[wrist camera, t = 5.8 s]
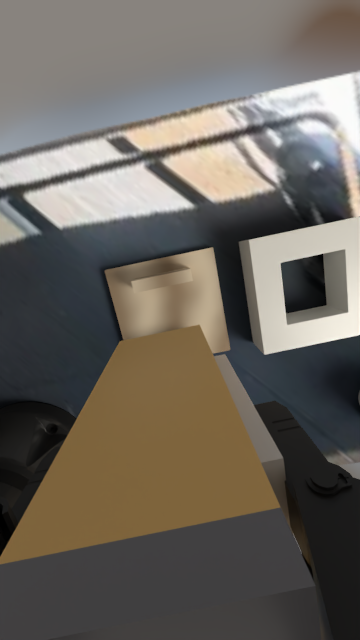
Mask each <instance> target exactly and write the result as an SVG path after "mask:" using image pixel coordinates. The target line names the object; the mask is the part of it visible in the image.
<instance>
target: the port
mask: <svg viewBox="0 0 360 640" xmlns="http://www.w3.org/2000/svg"><path fill="white" fill-rule="evenodd" d="M239 249H240V256H241V263H242V269H243V276H244V283H245V290H246V297H247V304H248V311H249V318H250V325H251V332H252V338H253V343H254V344H255V345H256V346H257V347H258V348H259V349H260V350H261V352H262V353H263V354H264V355H265V354H270V353H275V352H280V351H285V350H289V349H294V348H299V347H304V346H309V345H314V344H319V343H323V342H328V341H333V340H338V339H343V338H348V337H353V336H357V335H360V216H359V217H354V218H349V219H344V220H339V221H335V222H330V223H325V224H321V225H316V226H311V227H306V228H302V229H297V230H292V231H287V232H283V233H278V234H273V235H268V236H264V237H259V238H254V239H250V240H245V241H240V242H239ZM320 254H323V261H324V275H325V289H326V304H327V305H325V306H321V307H316V308H311V309H306V310H301V311H296V312H292V313H287V314H286V311H285V302H284V293H283V284H282V274H281V265H280V263H282V262H286V261H291V260H296V259H301V258H305V257H310V256H315V255H320Z"/></svg>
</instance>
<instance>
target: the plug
mask: <svg viewBox="0 0 360 640" xmlns="http://www.w3.org/2000/svg"><path fill="white" fill-rule="evenodd" d="M0 640H321V631H320V622H319V613H318V604H317V595H316V586H315V583H314V581H313V579H312V577H311V574H310V572H309V570H308V568H307V565H306V563H305V561H304V559H303V556H302V554H301V552H300V550H299V547H298V545H297V543H296V541H295V538H294V537H293V534H292V532H291V529H290V527H289V525H288V523H287V520H286V518H285V516H284V514H283V511H282V509H281V507H280V505H279V502H278V500H277V498H276V496H275V493H274V491H273V489H272V487H271V484H270V482H269V480H268V478H267V475H266V473H265V471H264V468H263V466H262V464H261V462H260V459H259V457H258V455H257V453H256V450H255V448H254V446H253V444H252V441H251V439H250V437H249V435H248V432H247V430H246V428H245V426H244V423H243V421H242V419H241V417H240V414H239V412H238V410H237V408H236V405H235V403H234V401H233V399H232V396H231V394H230V392H229V390H228V387H227V385H226V383H225V381H224V378H223V376H222V374H221V372H220V369H219V367H218V365H217V363H216V360H215V358H214V356H213V354H212V351H211V349H210V347H209V345H208V342H207V340H206V338H205V336H204V333H203V331H202V329H201V327H200V325H195V326H190V327H185V328H181V329H176V330H171V331H166V332H161V333H157V334H152V335H147V336H142V337H138V338H133V339H128V340H123V341H120V342H119V344H118V346H117V347H116V349H115V351H114V353H113V355H112V356H111V358H110V360H109V362H108V364H107V365H106V367H105V369H104V371H103V373H102V374H101V376H100V378H99V380H98V382H97V383H96V385H95V387H94V389H93V391H92V392H91V394H90V396H89V398H88V400H87V401H86V403H85V405H84V407H83V409H82V410H81V412H80V414H79V416H78V418H77V419H76V421H75V423H74V425H73V427H72V428H71V430H70V432H69V434H68V436H67V437H66V439H65V441H64V443H63V445H62V446H61V448H60V450H59V452H58V454H57V455H56V457H55V459H54V461H53V463H52V464H51V466H50V468H49V470H48V472H47V473H46V475H45V477H44V479H43V481H42V482H41V484H40V486H39V488H38V490H37V491H36V493H35V495H34V497H33V499H32V500H31V502H30V504H29V506H28V508H27V509H26V511H25V513H24V515H23V517H22V518H21V520H20V522H19V524H18V526H17V527H16V529H15V531H14V533H13V535H12V536H11V538H10V540H9V542H8V544H7V545H6V547H5V549H4V551H3V553H2V554H1V556H0Z"/></svg>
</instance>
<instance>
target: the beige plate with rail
mask: <svg viewBox="0 0 360 640" xmlns="http://www.w3.org/2000/svg"><path fill="white" fill-rule="evenodd" d="M105 274H106V278H107V281H108V285H109V289H110V293H111V296H112V300H113V304H114V307H115V311H116V315H117V318H118V322H119V326H120V330H121V333H122V337H123V340H128V339H133V338H138V337H142V336H147V335H152V334H157V333H161V332H166V331H171V330H176V329H181V328H185V327H190V326H195V325H200V327H201V329H202V331H203V333H204V336H205V338H206V340H207V342H208V345H209V347H210V349H211V351H212V354H213V353H218V352H223V351H227V350H230V345H229V339H228V333H227V327H226V321H225V315H224V309H223V303H222V298H221V292H220V286H219V280H218V274H217V268H216V262H215V256H214V250H213V247H212V248H207V249H202V250H197V251H193V252H188V253H183V254H179V255H174V256H169V257H164V258H160V259H155V260H150V261H145V262H141V263H136V264H131V265H127V266H122V267H117V268H112V269H108V270H105Z"/></svg>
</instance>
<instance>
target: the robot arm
mask: <svg viewBox="0 0 360 640" xmlns="http://www.w3.org/2000/svg"><path fill="white" fill-rule="evenodd" d="M214 358H215V360H216V363H217V365H218V367H219V369H220V372H221V374H222V376H223V378H224V381H225V383H226V385H227V387H228V390H229V392H230V394H231V396H232V399H233V401H234V403H235V405H236V408H237V410H238V412H239V414H240V417H241V419H242V421H243V423H244V426H245V428H246V430H247V432H248V435H249V437H250V439H251V441H252V444H253V446H254V448H255V450H256V453H257V455H258V457H259V459H260V462H261V464H262V466H263V468H264V471H265V473H266V475H267V478H268V480H269V482H270V484H271V487H272V489H273V491H274V493H275V496H276V498H277V500H278V502H279V505H280V507H281V509H282V511H283V514H284V516H285V518H286V520H287V523H288V525H289V527H290V529H291V532H292V534H293V533H294V535H295V538H296V540H297V542H298V544H299V547H300V549H301V551H302V556H303V559H304V561H305V563H306V565H307V568H308V570H309V572H310V574H311V577H312V579H313V581H314V583H315V586H316V595H317V604H318V613H319V622H320V631H321V640H360V480H359V479H356V478H353V477H352V476H351V475H350V473H348V472H347V471H346V470H344V469H343V468H341V467H340V466H338V465H335V464H332V463H330V462H328V461H327V459H326V458H325V457H324V456H323V454H322V453H321V452H320V450H319V449H318V448H317V446H316V445H315V444H314V443H313V441H312V440H311V439H310V437H309V436H308V435H307V433H306V432H305V431H304V430H303V428H301V426H300V424H299V423H298V422H297V420H296V419H294V417H293V415H292V414H291V413H290V411H289V410H288V409H287V408H286V407H285V406H283V405H281V404H279V403H278V402H276V401H272V402H267V403H262V404H257V405H253V403H252V402H251V400H250V398H249V396H248V394H247V393H246V391H245V389H244V387H243V386H242V384H241V382H240V380H239V378H238V377H237V375H236V373H235V371H234V370H233V368H232V366H231V364H230V362H229V361H228V359H227V357H226V355H225V354H224V355H220V356H215V357H214ZM75 421H76V418H75V417H74V416H72V415H71V414H69V413H68V412H66V411H64V410H62V409H60V408H58V407H55V406H52V405H49V404H45V403H38V402H22V403H16V404H12V405H9V406H6V407H4V408H2V409H0V556H1V554H2V553H3V551H4V549H5V547H6V545H7V544H8V542H9V540H10V538H11V536H12V535H13V533H14V531H15V529H16V527H17V526H18V524H19V522H20V520H21V518H22V517H23V515H24V513H25V511H26V509H27V508H28V506H29V504H30V502H31V500H32V499H33V497H34V495H35V493H36V491H37V490H38V488H39V486H40V484H41V482H42V481H43V479H44V477H45V475H46V473H47V472H48V470H49V468H50V466H51V464H52V463H53V461H54V459H55V457H56V455H57V454H58V452H59V450H60V448H61V446H62V445H63V443H64V441H65V439H66V437H67V436H68V434H69V432H70V430H71V428H72V427H73V425H74V423H75Z"/></svg>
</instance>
